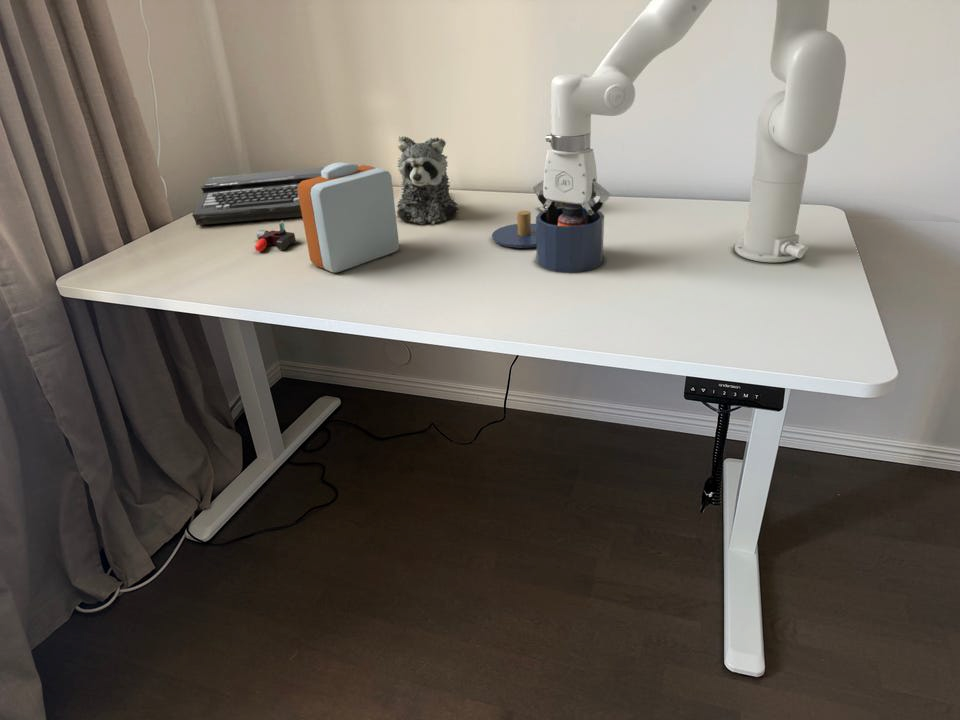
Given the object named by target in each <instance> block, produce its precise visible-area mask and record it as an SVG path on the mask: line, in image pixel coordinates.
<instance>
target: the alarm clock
mask: <svg viewBox="0 0 960 720" xmlns="http://www.w3.org/2000/svg"><path fill="white" fill-rule="evenodd" d="M357 165H358V164H355V163H351V162H345V161H344V162H343V161H342V162H340V161H339V162H332V163H330V164H328V165H327V166H324V167H325V168H324V169H323V170H322V171H321V175H322V176H319V177H316V178H312V179H307V180H303V181H302V182H300V183H299V184H298V188H297V190H298V196H299V201H300V207H301V212H302V216H301V217H302V222H303V228H304V233H305V239H306V243H307V250H308V255H309V260H310V262H311V263H312V265H314V266H316V267H318V268H322V269H323V270H326V271H328V272H330V273H335V274H336V273H340V272H343V271H345V270H348V269H352V268H354V267H357V266H360V265H363V264H366V263H368V262H371V261H374V260H377V259H379V258H382V257H385V256H387V255H390V254H393V253H396V252H397V251H398V250H399V247H400V240H399V231H398V223H397V215H396V214H397V212H396V205H395V197H394V196H395V195H394V188H393V180H392V174H391V173H390V171H389V170H387V169H383V168H379V167H374V166H370V165H365V164H362V165H358V166H357Z"/></svg>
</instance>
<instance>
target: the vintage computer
mask: <svg viewBox="0 0 960 720" xmlns="http://www.w3.org/2000/svg"><path fill="white" fill-rule="evenodd" d="M356 165H357V166H359V165H358V164H356ZM325 167H326V166H321V167H320V166H319V167H308V168H295V169H286V170H275V171H265V172H264V171H263V172H254V173H244V174H232V175H223V176H215V177H214V176H213V177H207V179H206V180H205V182H204V183H203V185H201V186H200V189H201V191H202V193H200V196H199V198H198V200H197V203H196V205H195V206H194V211H193V212H192V215H191V216H192V218H193V219H194V221H195V224H196V226H201V225H203V226H204V225H214V224H227V223H238V222H249V221H264V220H273V219H274V220H275V219H285V218H286V219H287V218H299V217H302V212H301V207H300V201H299V196H298V190H297V188H298V184H299V183H300V182H302V181H303V180H307V179H312V178H316V177H319V176H322V175H321V171H322V170H323V169H324V168H325Z"/></svg>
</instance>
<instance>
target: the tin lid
mask: <svg viewBox="0 0 960 720" xmlns="http://www.w3.org/2000/svg"><path fill="white" fill-rule="evenodd" d="M531 215H532V213H531V211H530V210H519V211H517V212H516V218H517V222H516V223H515V224H508V225H505V226H501V227H498V228H497V229H495V230H494V231H493V232H492V234H491V238H492V241H493V242H494V243H496V244H497V245H500V246H504V247H510V248H522V249H523V248H536V223H532V222H531V221H532V220H531V219H532V218H531V217H532V216H531Z"/></svg>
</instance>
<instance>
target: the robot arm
mask: <svg viewBox="0 0 960 720" xmlns="http://www.w3.org/2000/svg"><path fill="white" fill-rule="evenodd" d="M712 1H713V0H651V1H649V3H648V4H647V5H646V7H645V8H644V9H643V11H641V13H640V14H639V15H638V16H637V17H636V18H635V20H634V21H633V22H632V23H631V25H629V27H628V28H627V29H626V31H625V32H624V33H623V34H622V35H621V36H620V37H619V39H618V40H617V41H616V42H615V43H614V45H613V46H612V48H611V49H610V50H609V52H608V53H607V54H606V56H605V57H604V58H603V60H602V61H601V62H600V63H599V65H598V66H597V68H596V69H595V70H594V72H593V73H592V75H591V76H589V75H587V74H585V73H579V72H571V73H570V72H569V73H562V74H558V75H555V76H554V77H553V79H552V80H551V84H550V110H551V111H550V112H551V113H550V114H551V115H550V120H551V121H550V122H551V123H550V124H551V125H550V127H551V128H550V129H551V131H550V134H546V136H545V141H546V142H547V143H548V142H549V143H550V147H551V148H549V149H547V152H546V157H545V163H544V170H543V180H541V181H540V182H538V183H536V184H535V185H534V186H533V189H532V190H533V191H534V194H535V195H536V197H537V199H538V201H539V202H540V203H541V205H542V207H543V208H544V209H545V210H546V223H548V224H552V225H557V207H556V206H555V203H556V202H563V203H572V204H581V205H582V206H583V207H584V208H585V209H586V211H587V214H586V215H585V225H586V224H590V223H593V222H595V221H596V212H597V211H600V210H601V209H602V208H603V207H604V206H605V204H606V203H607V202H608V200H609V199H610V197H611V193H610V192H609V191H608V190H607V189H605V187H603V186H602V185H601V184H600V183H598V176H597V174H598V172H597V163H596V157H595V152H594V148H591V137H592V136H591V134H592V133H591V131H592V128H591V127H592V115H593V116H594V115H595V116H596V115H597V116H607V117H616V116H620V115H622V114H625V113H626V112H627V111H629V109H631V107H632V106H633V105H634V102H635V99H636V89H635V85H634V82H635V81H636V80H637V79H638V77H639V76H640V75H641V74H642V72H643V71H644V70H645V69H646V68H647V66H649V64H650V63H651V62H652V61H653V60H654V59H655V58H656V57H658V56H659V55H661V54H662V53H663V52H665V51H667V50H669V49H671V48H673V47H674V46H675V45H676V44H678V43H679V42H680V41H681V40H682V39H683V38H684V37H685V36H686V35H687V33H688V32H689V31H690V30H691V28H692V27H693V26H694V24H695V23H696V22H697V20H698V19H699V18H700V16H701V15H702V14H703V13H704V11H705V10H706V9H707V7H708V6H709V5H710V3H711V2H712ZM829 9H830V0H776V13H775V22H774V29H773V38H772V46H771V53H770V61H769V63H770V70H771V73H772V74H773V76H774V77H775V78H776V79H778V80H779V81H781V82H782V83H784V84H785V90H781V91H778V92H776V93H774V94H772V95H771V96H769V98H767V100H766V101H765V102H764V103H763V104H762V106H761V107H760V110H759V112H758V115H757V121H756V145H755V146H756V148H755V161H754V168H753V176H752V182H751V189H750V194H749V195H750V196H749V202H748V210H747V217H746V224H745V230H744V238H742V239H740V240H738V241H737V242H736V243H735V245H734V251H735V253H736V254H737V255H739V256H740V257H742V258H745V259H748V260H751V261H755V262H759V263H760V262H762V263H785V262H786V263H787V262H791V261H794V260H796V259H797V258H798V259H802V258H803V257H804V255H805V253H806V252H807V251H808V248H809V247H808V245H805V244H803V243H800V242H799V241H800V235H799V234H797V233H796V231H797V227H798V226H797V225H798V221H799V214H800V208H801V202H802V197H803V191H804V187H805V186H804V184H805V180H806V175H807V171H808V162H809V155H810V154H813V153H816V152H817V151H819V150H821V149H822V148H823V147H824V146H825V145H827V143H828V142H829V140H830V139H831V138H832V135H833V133H834V131H835V128H836V125H837V120H838V115H839V110H840V104H841V99H842V94H843V87H844V81H845V75H846V69H847V68H846V67H847V55H846V50H845V46H844V44H843V42H842V41H841V39H840V38H839V37H838V36H837V35H835V34H834V33H832V32H831V31H827V30H828V20H829ZM597 195H598V196H599V199H598V201H597V202H596V200H595V198H596V197H597Z"/></svg>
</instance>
